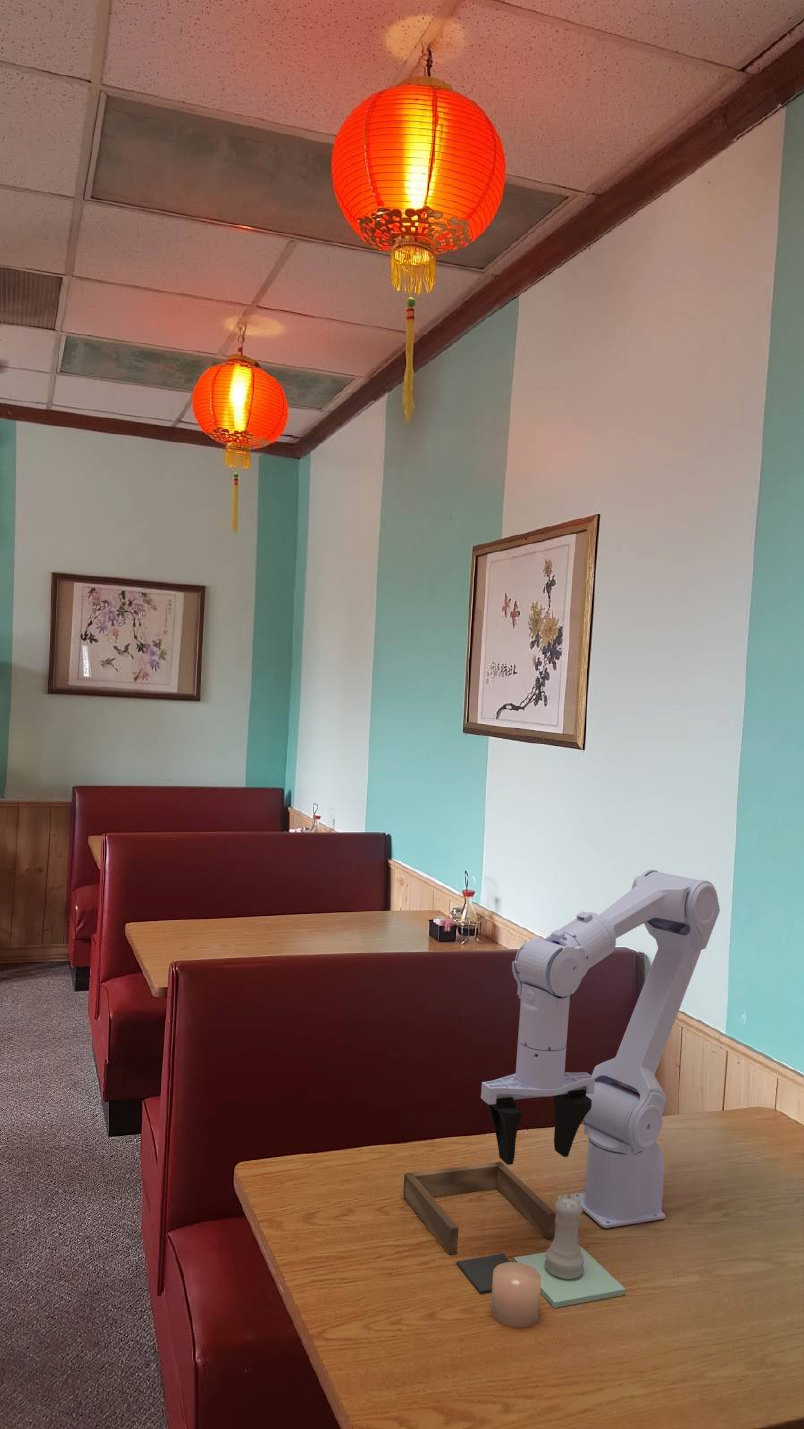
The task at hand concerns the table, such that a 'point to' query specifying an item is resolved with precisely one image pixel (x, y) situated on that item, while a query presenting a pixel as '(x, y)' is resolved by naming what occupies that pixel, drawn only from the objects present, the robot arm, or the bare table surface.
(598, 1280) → the coaster
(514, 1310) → the peach short cylinder
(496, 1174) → the cubby
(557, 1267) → the rook chess piece
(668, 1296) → the table surface
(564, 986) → the robot arm
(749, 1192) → the table surface
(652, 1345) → the table surface
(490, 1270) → the dark gray tile
